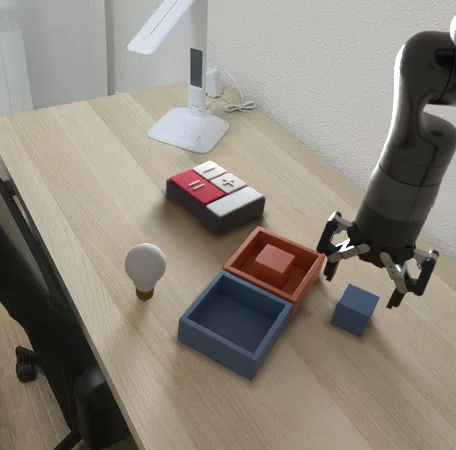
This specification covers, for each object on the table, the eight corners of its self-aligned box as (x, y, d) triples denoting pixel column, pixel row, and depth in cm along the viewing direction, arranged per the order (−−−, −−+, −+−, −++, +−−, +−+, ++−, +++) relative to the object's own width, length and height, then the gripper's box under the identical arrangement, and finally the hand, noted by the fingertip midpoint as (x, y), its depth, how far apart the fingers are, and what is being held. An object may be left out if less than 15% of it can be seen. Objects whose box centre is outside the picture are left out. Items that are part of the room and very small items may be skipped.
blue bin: (287, 325, 80) (293, 304, 77) (251, 381, 72) (256, 361, 69) (217, 290, 84) (220, 269, 81) (176, 339, 77) (178, 319, 74)
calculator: (211, 157, 105) (267, 194, 96) (209, 176, 108) (264, 213, 98) (165, 176, 100) (220, 216, 91) (164, 195, 103) (218, 236, 93)
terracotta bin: (319, 275, 87) (325, 255, 84) (289, 322, 80) (295, 301, 77) (253, 246, 92) (257, 225, 89) (219, 287, 85) (222, 267, 82)
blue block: (370, 317, 81) (380, 296, 78) (360, 338, 78) (369, 317, 75) (340, 303, 83) (348, 282, 80) (329, 323, 80) (337, 302, 77)
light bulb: (147, 277, 86) (148, 229, 79) (172, 299, 83) (175, 251, 76) (117, 294, 83) (115, 246, 76) (141, 318, 80) (142, 270, 73)
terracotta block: (289, 277, 86) (295, 255, 83) (277, 294, 83) (282, 273, 80) (263, 264, 88) (267, 243, 85) (250, 281, 85) (254, 260, 82)
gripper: (329, 193, 66) (301, 285, 77) (453, 240, 60) (404, 332, 71) (350, 164, 71) (320, 254, 82) (466, 205, 65) (418, 297, 76)
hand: (359, 290), depth 76 cm, fingers open, 8 cm apart
